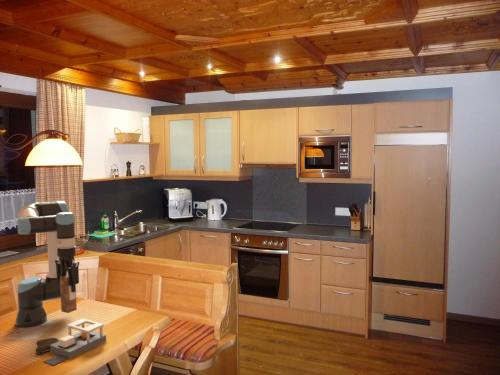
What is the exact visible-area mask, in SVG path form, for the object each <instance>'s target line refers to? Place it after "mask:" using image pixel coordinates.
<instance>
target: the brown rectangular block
mask: <svg viewBox="0 0 500 375" xmlns="http://www.w3.org/2000/svg"><path fill="white" fill-rule="evenodd" d="M69 285H70V282H69V277H68V274H67V275H63V276H60V291H61V298H60V306H61V307H60V308H61V312H62V313H66V314H69V313H72V312H74V311H77V310H78V308H77V291H76V292H75V297H76V298H75V299H72V300H69Z"/></svg>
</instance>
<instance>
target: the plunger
mask: <svg viewBox="0 0 500 375" xmlns="http://www.w3.org/2000/svg"><path fill="white" fill-rule="evenodd" d="M80 332H81V333H82V340H83V341H85V340H87V333H86V332H82V331H80ZM89 335H90V333H89Z"/></svg>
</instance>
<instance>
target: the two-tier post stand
mask: <svg viewBox="0 0 500 375" xmlns="http://www.w3.org/2000/svg"><path fill="white" fill-rule="evenodd" d="M85 324H90V325H89V326H85ZM104 326H105V325H104V323H100V322H97V321H93V320H91V319H87V318H81V319H77V320H75V321H73V322H70V323H68V324H66V328H68V335H70V336H73V337H75V343H74V344H72V345H70V346H68V347H62V346H60V345H59V341H58V342H56V343H54V344H51V345H50V350H49V352H50V353H53V354H55V355H61V356H64V357H67V358H68V359H72V358H75V357H77V356H79V355H81V354H82V353H85V352H87V351H89V350H90V349H93V348H95V347H97V346H99V345H101V344H102V343H103V344H104V343H106V342H107V335H106V334H104V333H103V332H104V331H103V327H104ZM98 329H99V332H97V331H96V330H98ZM72 330H76V331H79V332H77V333H75V334H73V335H72ZM81 332H86V333H87V340H85V341H83V340H82V333H81ZM89 333H90V335H89Z"/></svg>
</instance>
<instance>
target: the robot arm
mask: <svg viewBox="0 0 500 375" xmlns="http://www.w3.org/2000/svg"><path fill="white" fill-rule="evenodd" d="M16 221H17V233H18V235H32V234H43V233H46V238H47V240H46V242H47V261H48V263H47V264H48V273H47V274H45V278H42V277H41V276H32V277H29V278H25V279H23V280H21V281H20V282H19V283H17V291H16V292H17V303H18V306H17V307H18V311H17V313H16V317H15V321H14V322H15V326H16V327H19V328H29V327H35V326H36V327H37V326H39V325H41V324H42V325H43V324H44V323H45V322H46V321H47V320H48V314H47V312H46V310H45V308H44V303H43V302H44V301H45V302H46V301H47V302H48V301H51V300H52V301H53V300H58V299H61V291H60V276H63V275H67V274H68V277H69V282H70V285H69V300H72V299H75V298H76V299H77V296H76V297H75V292H76V293H77V287H76V285H77V284H80V271H79V269H80V268H79V267H80V266H79V265H80V261H76V260H75V256H76V252H77V251H76V247H75V246H76V234H75V231H76V230H75V221H76V220H75V214H74V212H70V211H69V207H68V205H67V203H66V201H64V200H54V201H53V200H50V201H40V202H39V201H36V202H31V203H28V204H25V205H24V206H22V207H21V208H20V209H19V210H18V212H17V220H16Z"/></svg>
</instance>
